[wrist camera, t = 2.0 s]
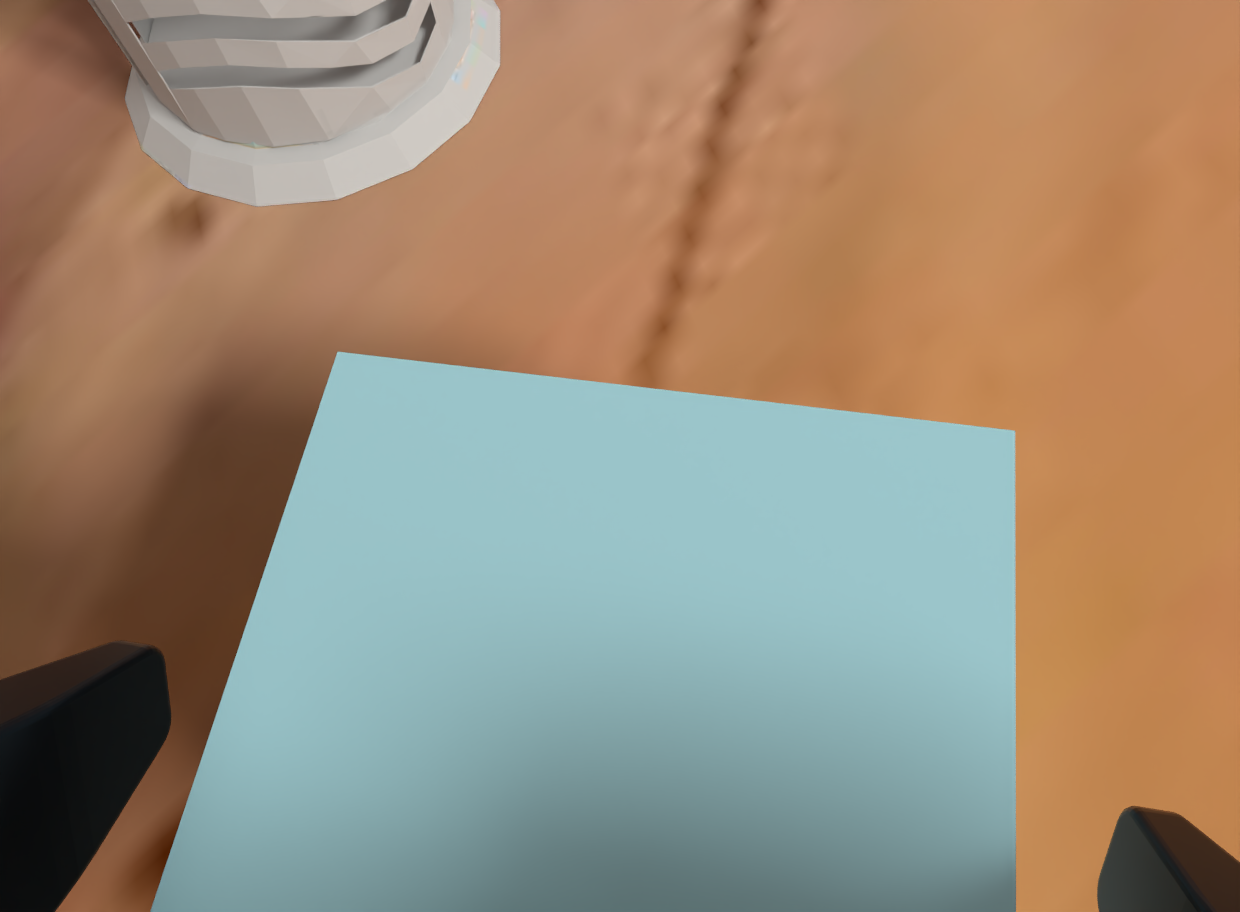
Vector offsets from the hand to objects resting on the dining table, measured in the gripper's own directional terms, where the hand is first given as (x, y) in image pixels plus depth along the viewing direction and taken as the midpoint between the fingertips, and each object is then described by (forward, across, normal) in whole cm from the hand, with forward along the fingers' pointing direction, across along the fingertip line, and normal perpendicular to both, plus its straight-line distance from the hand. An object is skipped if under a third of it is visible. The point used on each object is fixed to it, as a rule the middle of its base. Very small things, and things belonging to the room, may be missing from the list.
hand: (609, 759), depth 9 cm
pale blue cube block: (+6, 0, +6) cm, 8 cm away
